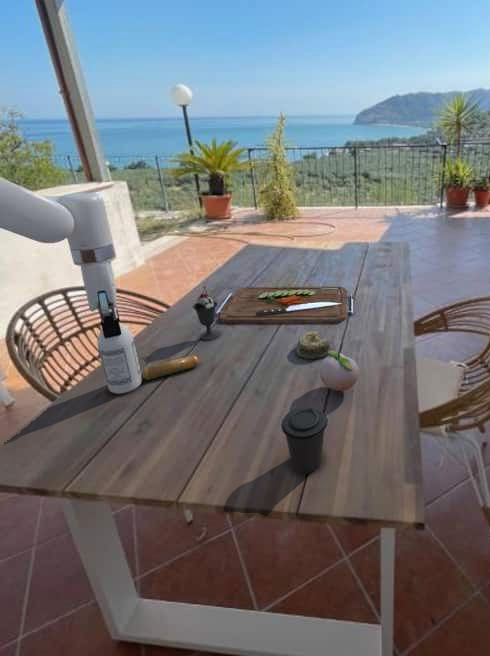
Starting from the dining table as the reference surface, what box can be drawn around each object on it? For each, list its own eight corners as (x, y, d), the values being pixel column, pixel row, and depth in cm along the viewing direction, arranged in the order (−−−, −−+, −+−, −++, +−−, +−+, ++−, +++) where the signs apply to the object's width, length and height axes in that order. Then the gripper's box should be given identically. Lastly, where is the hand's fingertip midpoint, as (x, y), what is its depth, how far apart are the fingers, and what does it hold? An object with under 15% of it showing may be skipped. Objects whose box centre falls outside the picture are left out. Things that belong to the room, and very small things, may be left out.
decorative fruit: (311, 390, 91) (310, 353, 87) (336, 374, 96) (335, 339, 93) (340, 408, 85) (340, 369, 81) (365, 390, 91) (365, 353, 87)
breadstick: (143, 384, 92) (140, 373, 91) (142, 377, 95) (139, 367, 94) (200, 367, 99) (199, 357, 98) (198, 361, 101) (196, 351, 100)
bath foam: (127, 374, 96) (109, 300, 89) (149, 379, 94) (133, 304, 87) (101, 391, 90) (80, 313, 83) (125, 397, 88) (105, 318, 81)
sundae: (216, 328, 118) (210, 282, 113) (224, 336, 114) (218, 289, 108) (194, 335, 114) (186, 288, 109) (202, 344, 110) (194, 295, 104)
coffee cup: (327, 442, 76) (325, 400, 72) (330, 476, 68) (329, 431, 65) (284, 447, 74) (281, 404, 71) (283, 482, 67) (279, 436, 63)
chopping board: (353, 289, 147) (353, 282, 146) (353, 322, 122) (353, 314, 121) (234, 290, 146) (233, 282, 145) (209, 323, 121) (208, 314, 120)
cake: (312, 365, 101) (310, 348, 99) (289, 351, 107) (286, 335, 105) (340, 348, 107) (338, 332, 105) (316, 336, 114) (314, 320, 112)
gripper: (74, 246, 85) (93, 320, 92) (69, 268, 72) (92, 353, 78) (114, 241, 89) (129, 313, 95) (116, 261, 76) (134, 343, 82)
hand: (112, 330), depth 87 cm, fingers open, 4 cm apart
